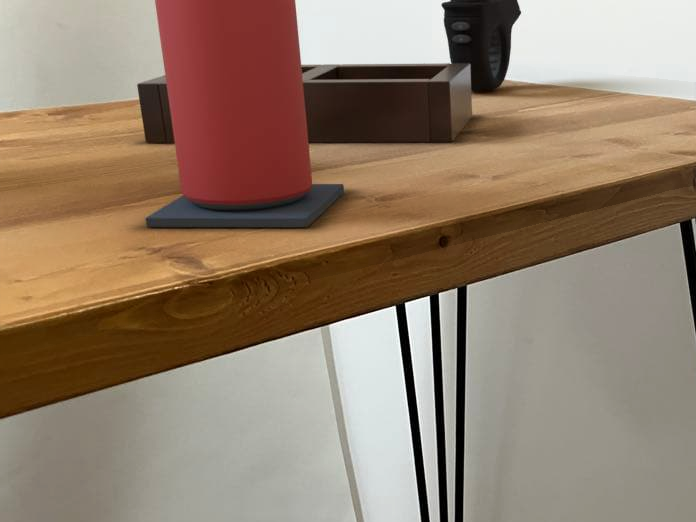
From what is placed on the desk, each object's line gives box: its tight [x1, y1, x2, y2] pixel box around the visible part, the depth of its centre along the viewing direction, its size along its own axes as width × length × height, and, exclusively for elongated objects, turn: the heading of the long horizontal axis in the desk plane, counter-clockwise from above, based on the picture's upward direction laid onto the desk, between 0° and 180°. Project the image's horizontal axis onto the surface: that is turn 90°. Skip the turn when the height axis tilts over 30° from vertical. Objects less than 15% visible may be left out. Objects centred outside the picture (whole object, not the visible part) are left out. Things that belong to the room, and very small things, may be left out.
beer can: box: [154, 0, 313, 211], centre depth 55 cm, size 7×7×12 cm
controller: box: [440, 0, 522, 93], centre depth 99 cm, size 4×12×10 cm, turn 164°
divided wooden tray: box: [136, 62, 473, 144], centre depth 81 cm, size 22×12×4 cm, turn 86°
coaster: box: [145, 183, 345, 229], centre depth 58 cm, size 8×8×1 cm
